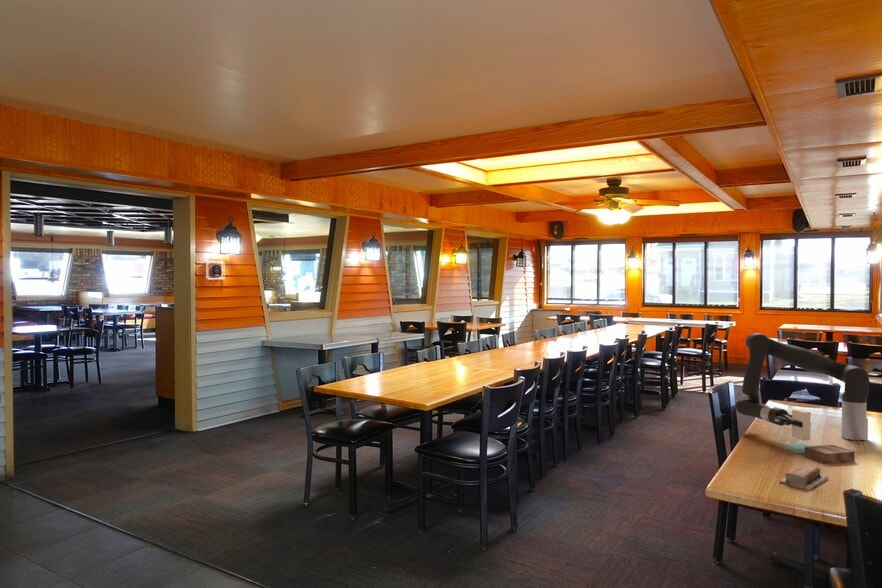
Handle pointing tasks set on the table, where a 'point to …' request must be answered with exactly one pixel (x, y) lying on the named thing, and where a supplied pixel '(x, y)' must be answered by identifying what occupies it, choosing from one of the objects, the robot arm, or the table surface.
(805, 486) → the packaged product
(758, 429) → the table surface
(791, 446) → the mat
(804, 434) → the beige rectangular block
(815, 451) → the block
